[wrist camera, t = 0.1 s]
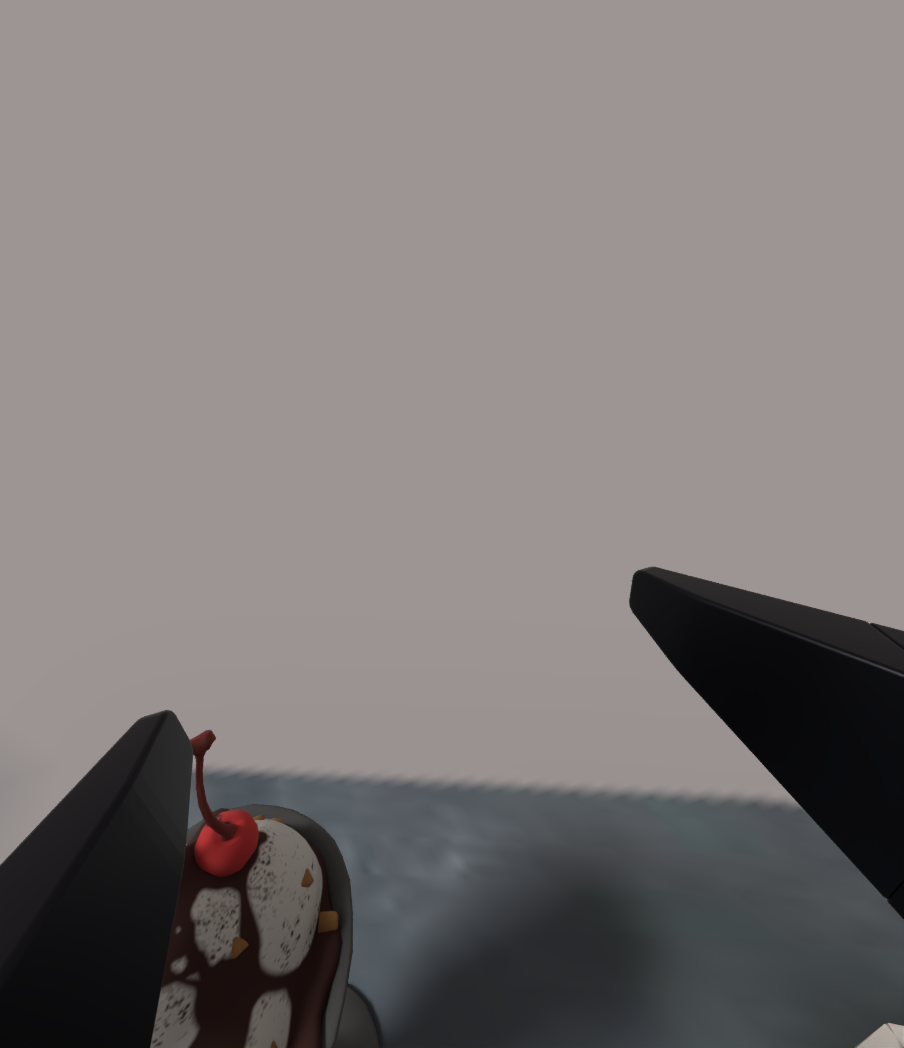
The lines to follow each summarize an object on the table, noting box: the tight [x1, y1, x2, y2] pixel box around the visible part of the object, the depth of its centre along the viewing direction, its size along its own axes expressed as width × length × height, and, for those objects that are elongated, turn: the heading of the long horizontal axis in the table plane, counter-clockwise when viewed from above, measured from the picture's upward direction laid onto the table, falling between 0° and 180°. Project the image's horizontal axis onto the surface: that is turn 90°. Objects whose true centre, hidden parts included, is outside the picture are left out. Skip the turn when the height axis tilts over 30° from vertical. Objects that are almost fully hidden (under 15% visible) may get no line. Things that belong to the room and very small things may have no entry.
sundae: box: [150, 730, 379, 1048], centre depth 10 cm, size 7×7×15 cm
